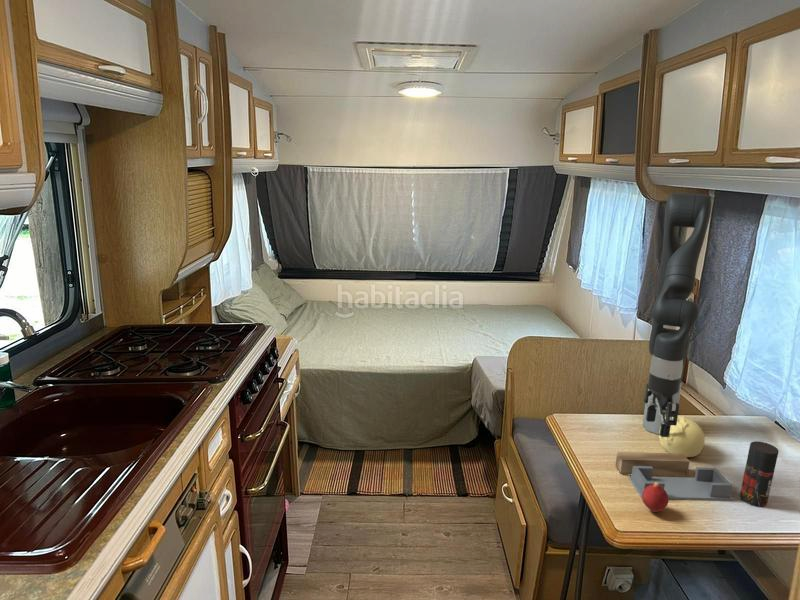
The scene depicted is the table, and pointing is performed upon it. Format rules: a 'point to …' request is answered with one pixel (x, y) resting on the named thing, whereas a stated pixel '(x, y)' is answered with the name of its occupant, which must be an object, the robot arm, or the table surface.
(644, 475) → the endcaps
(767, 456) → the deodorant
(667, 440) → the sculpture
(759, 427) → the table surface
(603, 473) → the table surface
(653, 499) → the onion
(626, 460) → the slat
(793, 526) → the table surface
